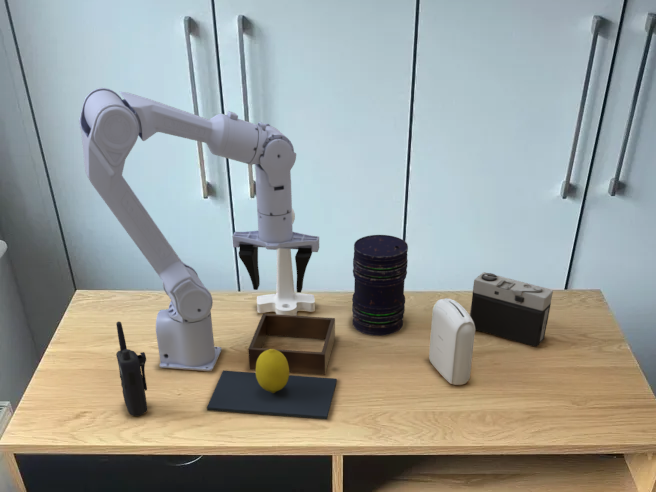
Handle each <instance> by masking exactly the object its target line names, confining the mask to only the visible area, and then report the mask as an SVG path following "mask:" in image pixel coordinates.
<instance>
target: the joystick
mask: <svg viewBox="0 0 656 492" xmlns="http://www.w3.org/2000/svg"><path fill="white" fill-rule="evenodd" d="M295 220H296V213H295V211H294V209H293V208H292V225H293V224H294V222H295ZM292 259H293V258H292V249H282V248H278V249H277V250H276V293H269V294H262V295H261V294H260V295H257V296H256V310H257V311H256V312H257V313H258V314H265V313H269V312H273V313H275V314H278V315H293V316H298V312H299V311H300V312H301V311H302V312H303V311H304V312H309V313H313V312H316V300H315V295H314V294H311V293H302V292H301V293H298V292H295V284H294V283H295V281H294V272H293V261H292Z"/></svg>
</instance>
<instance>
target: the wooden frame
mask: <svg viewBox="0 0 656 492" xmlns="http://www.w3.org/2000/svg"><path fill="white" fill-rule="evenodd" d="M268 336H272V337H273V336H274V337H287V338H300V339H301V338H302V339H316V340H324V342H323V346H322V349H321V351H311V350H310V351H307V350H296V349H295V350H294V349H279V348H273V349H274V350H277V351H279V352H281V353H282V354H283V355H284V356H285V357H286V359H287V362H288V366H289V374H290V373H291V374H305V375H306V374H307V375H319V376H326V373H327V369H328V365H329V362H330V357H331V355H332V350H333V347H334V344H335V340H336V317H321V316H308V315H307V316H306V315H297V316H293V315H278V314H276V313H262V314H261V317H260V319H259V322H258V324H257V327H256V329H255V332H254V334H253V337H252V339H251V341H250V343H249V345H248V349H247V352H248V353H247V355H248V365H249V367H248V369H249V370H250V371H256V363H257V359H258V357H259V356H260V354H261V353H263V352H264V351H266V350H269V349H270V348H266V347H265V348H264V347H263V346H264V344H265V341H266V340H267V337H268Z"/></svg>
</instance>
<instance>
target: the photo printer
mask: <svg viewBox="0 0 656 492" xmlns="http://www.w3.org/2000/svg"><path fill="white" fill-rule="evenodd" d="M431 312H432V313H431V314H432V315H431V324H430V325H431V326H430V340H429V351H428V358H429V362H430V364H432V366H433V368H434V369H435V370H436V371H437V372H438V373H439V374H440V376H442V377H443V378H444V379H445V380H446V381H447V382H448V383H449V384H450V385H453V386H461V385H465V384H467V383H468V381H470V378H471V374H472V373H471V372H472V362H473V355H474V354H473V353H474V345H475V338H476V337H475V336H476V330H475V325H474V322H473V320H472V318H471V316H470V312H468V311H467V309H466V308H465V307H464V306H463V305H462V304H461V303H459V302H458V301H457V300H454V299H452V298H449V297H445V298H440V299H438V300H437V301H436V302H435V303H434V306H433V307H432V311H431Z"/></svg>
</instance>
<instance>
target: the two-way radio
mask: <svg viewBox="0 0 656 492" xmlns="http://www.w3.org/2000/svg"><path fill="white" fill-rule="evenodd" d="M116 331H117V338H118V344H119V350H117V351H116V355H115V356H116V359H117V365H118V372H119V379H120V384H121V388H122V395H123V400H124V404H125V407H126V409H127V412H128V414H129V415H130V416H132V417H140V416H143V415H144V414H145V413H146V412H147V411H148V403H147V396H146V391H148V387H147V386H148V385H147V380H146V372H145V371H146V370H145V369H146V368H145V367H146V362H147V356H146V353H145V352H144V351H141V352H139V354H137V353H136V352H135V351H134V350H131V349H129V348H127V343H126V337H125V333H124V328H123V324H122V322H121V321H117V322H116Z"/></svg>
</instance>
